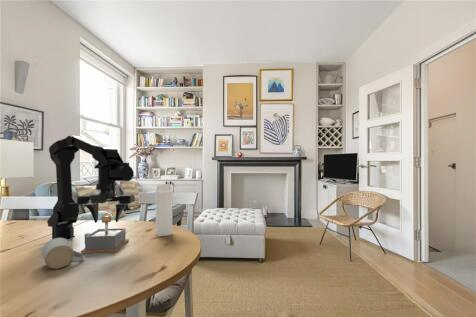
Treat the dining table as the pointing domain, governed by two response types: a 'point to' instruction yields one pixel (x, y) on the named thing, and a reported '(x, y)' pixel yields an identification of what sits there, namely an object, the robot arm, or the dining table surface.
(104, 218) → the plunger
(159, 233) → the milk
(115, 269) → the dining table surface
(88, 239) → the grey square tray
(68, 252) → the ceramic mug
